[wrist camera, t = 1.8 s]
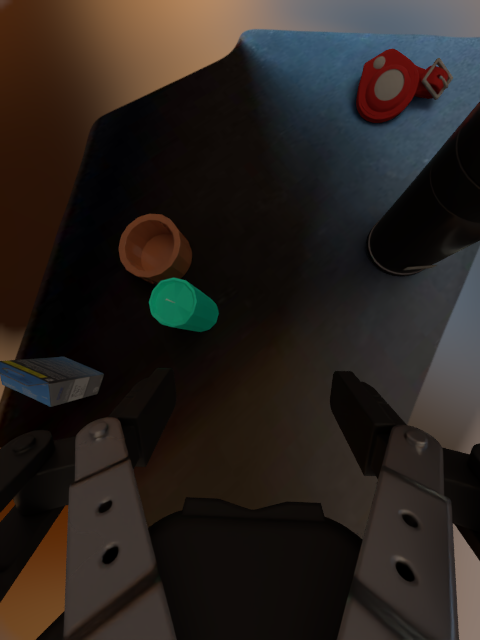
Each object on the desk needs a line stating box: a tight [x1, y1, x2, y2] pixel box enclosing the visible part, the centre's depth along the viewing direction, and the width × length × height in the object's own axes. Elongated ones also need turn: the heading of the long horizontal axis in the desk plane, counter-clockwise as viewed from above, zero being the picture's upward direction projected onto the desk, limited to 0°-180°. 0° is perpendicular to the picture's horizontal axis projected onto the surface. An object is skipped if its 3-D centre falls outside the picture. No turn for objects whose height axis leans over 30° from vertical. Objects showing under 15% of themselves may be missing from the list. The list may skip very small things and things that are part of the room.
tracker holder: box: [356, 49, 453, 123], centre depth 34 cm, size 12×4×10 cm
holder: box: [119, 214, 192, 285], centre depth 37 cm, size 10×10×5 cm
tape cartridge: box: [0, 357, 104, 407], centre depth 33 cm, size 9×4×12 cm, turn 71°
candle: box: [149, 278, 219, 332], centre depth 31 cm, size 6×6×12 cm
